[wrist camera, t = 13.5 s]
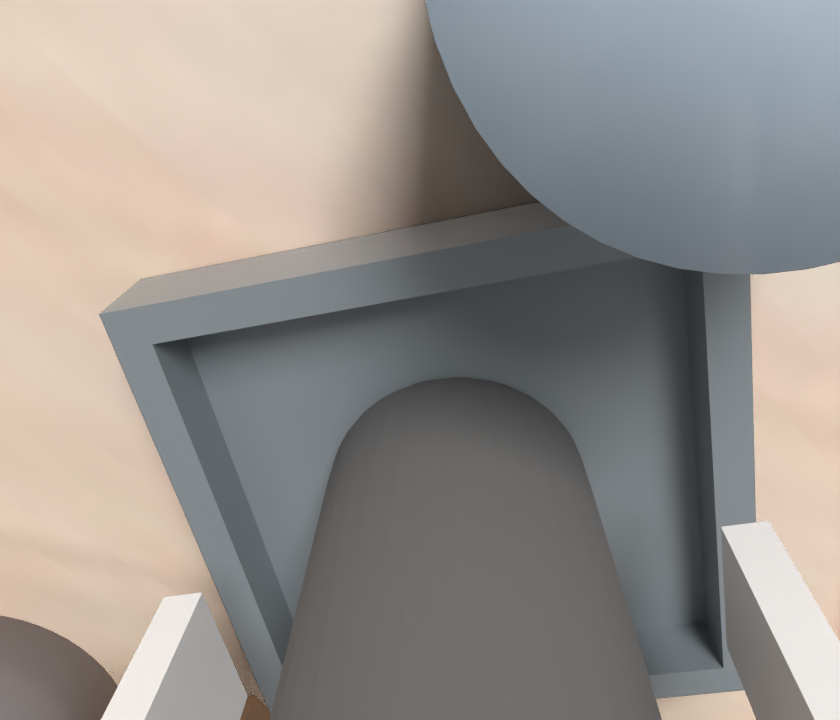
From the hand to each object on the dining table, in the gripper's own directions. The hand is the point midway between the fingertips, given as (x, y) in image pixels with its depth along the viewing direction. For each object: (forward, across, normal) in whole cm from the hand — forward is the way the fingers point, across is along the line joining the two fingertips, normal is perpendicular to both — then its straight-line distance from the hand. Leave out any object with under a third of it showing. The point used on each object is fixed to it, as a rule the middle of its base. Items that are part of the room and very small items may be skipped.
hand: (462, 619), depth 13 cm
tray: (+5, 0, 0) cm, 5 cm away
